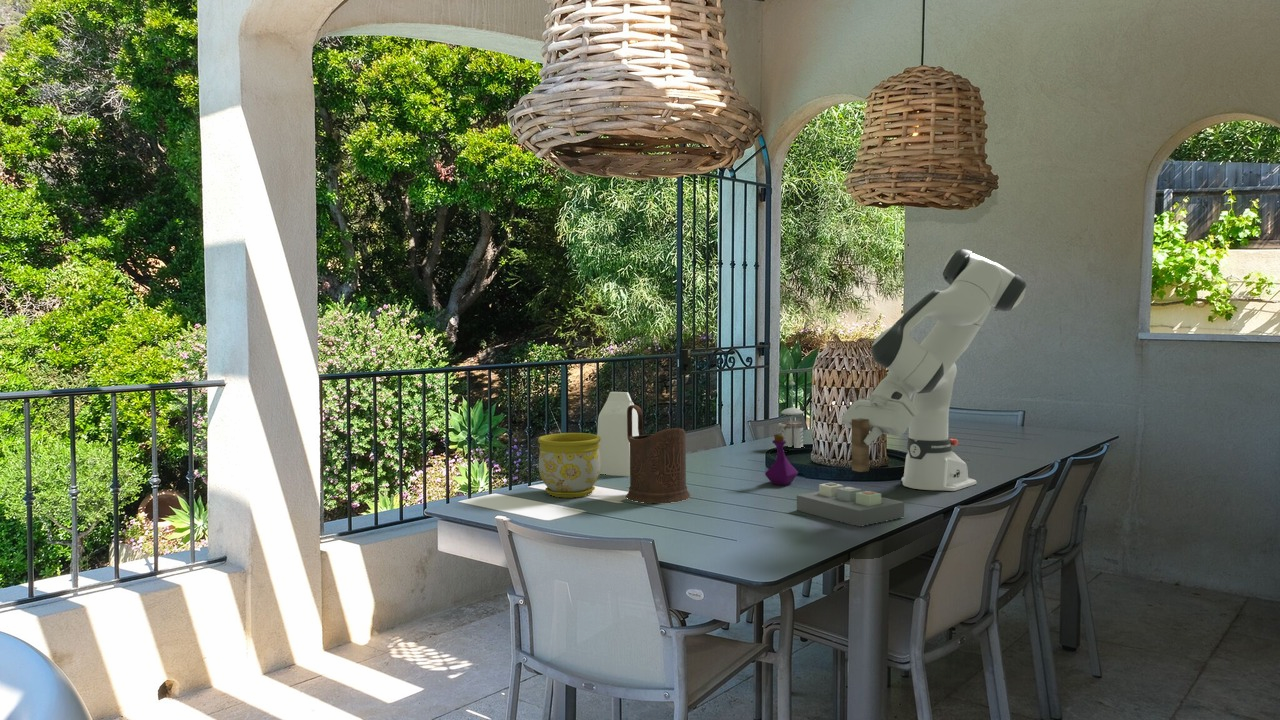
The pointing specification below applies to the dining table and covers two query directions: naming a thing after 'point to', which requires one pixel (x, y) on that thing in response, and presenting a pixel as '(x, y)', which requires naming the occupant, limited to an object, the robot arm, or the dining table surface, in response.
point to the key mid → (847, 493)
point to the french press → (792, 427)
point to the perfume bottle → (781, 463)
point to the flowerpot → (569, 463)
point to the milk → (616, 434)
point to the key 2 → (868, 498)
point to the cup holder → (656, 463)
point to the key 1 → (829, 489)
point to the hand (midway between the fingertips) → (858, 442)
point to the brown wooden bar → (860, 445)
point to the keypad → (849, 509)
